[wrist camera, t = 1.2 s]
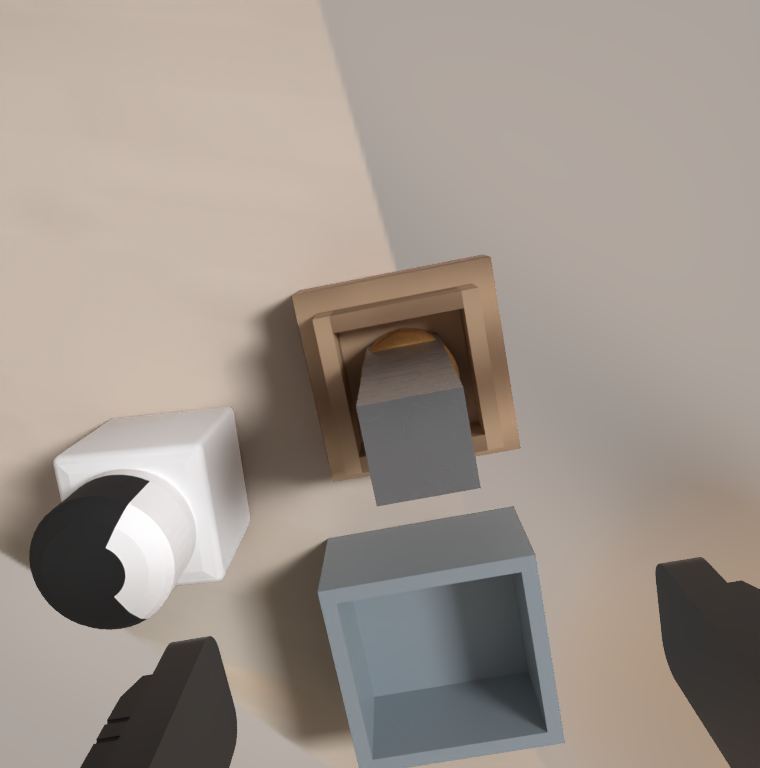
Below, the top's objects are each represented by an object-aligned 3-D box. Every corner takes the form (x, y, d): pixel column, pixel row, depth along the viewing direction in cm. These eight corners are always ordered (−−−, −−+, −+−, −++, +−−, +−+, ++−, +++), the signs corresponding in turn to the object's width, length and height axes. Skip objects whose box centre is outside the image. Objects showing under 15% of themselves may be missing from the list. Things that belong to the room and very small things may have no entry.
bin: (327, 538, 40) (317, 592, 34) (513, 506, 39) (535, 554, 33) (364, 699, 42) (360, 774, 36) (540, 670, 42) (564, 742, 36)
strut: (353, 336, 34) (334, 392, 22) (447, 318, 34) (478, 365, 22) (371, 426, 35) (363, 525, 23) (463, 410, 35) (500, 500, 23)
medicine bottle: (133, 532, 40) (27, 658, 28) (110, 416, 38) (-13, 499, 27) (252, 521, 40) (195, 644, 28) (234, 404, 38) (166, 482, 26)
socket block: (299, 290, 37) (284, 301, 31) (482, 254, 36) (498, 258, 31) (337, 463, 39) (328, 500, 33) (510, 431, 38) (530, 464, 33)
